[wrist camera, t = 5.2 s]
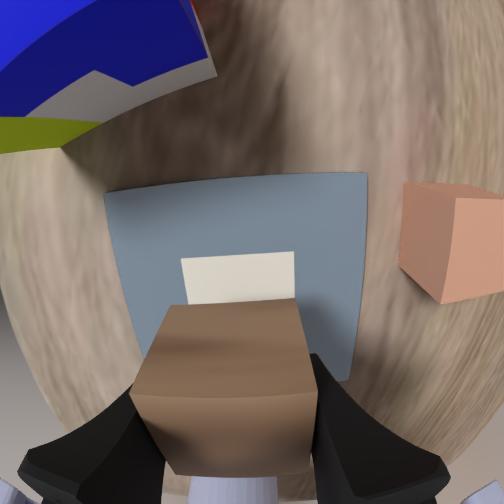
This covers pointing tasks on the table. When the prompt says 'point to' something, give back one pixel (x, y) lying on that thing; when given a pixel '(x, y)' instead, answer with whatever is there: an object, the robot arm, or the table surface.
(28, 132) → the puzzle toy
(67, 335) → the table surface
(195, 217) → the plate
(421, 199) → the terracotta block
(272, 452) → the walnut block
